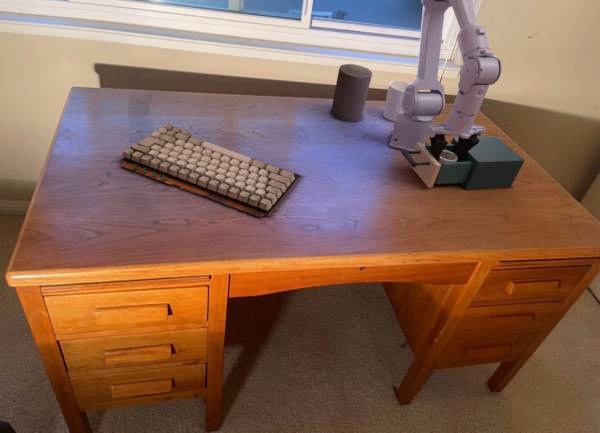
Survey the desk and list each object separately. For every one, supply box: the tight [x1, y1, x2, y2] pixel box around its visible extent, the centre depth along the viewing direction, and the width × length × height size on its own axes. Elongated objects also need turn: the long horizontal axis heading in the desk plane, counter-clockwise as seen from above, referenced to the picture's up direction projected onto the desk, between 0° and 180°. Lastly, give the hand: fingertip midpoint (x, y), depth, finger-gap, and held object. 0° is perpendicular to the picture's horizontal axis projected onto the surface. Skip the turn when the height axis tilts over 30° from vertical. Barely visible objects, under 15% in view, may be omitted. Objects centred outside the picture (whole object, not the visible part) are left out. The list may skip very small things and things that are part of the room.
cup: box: [437, 150, 458, 175], centre depth 108 cm, size 5×5×4 cm
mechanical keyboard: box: [120, 122, 302, 218], centre depth 98 cm, size 38×19×3 cm, turn 68°
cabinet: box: [450, 136, 526, 191], centre depth 111 cm, size 14×12×8 cm
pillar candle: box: [330, 63, 373, 122], centre depth 127 cm, size 10×10×15 cm
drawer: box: [400, 143, 475, 188], centre depth 107 cm, size 17×10×6 cm, turn 105°
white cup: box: [382, 80, 410, 123], centre depth 132 cm, size 8×8×10 cm
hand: (444, 160), depth 107 cm, fingers open, 6 cm apart
